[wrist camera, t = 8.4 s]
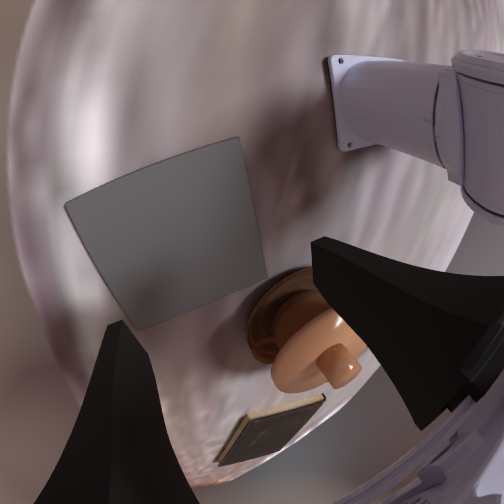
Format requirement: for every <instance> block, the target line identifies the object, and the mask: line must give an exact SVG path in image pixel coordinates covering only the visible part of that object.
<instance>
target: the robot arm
mask: <svg viewBox="0 0 504 504" xmlns="http://www.w3.org/2000/svg"><path fill="white" fill-rule="evenodd" d="M338 59H340V63H339V61H338ZM451 62H452V66H445V65H438V64H429V63H419V62H405V61H404V60H400V59H391V58H382V57H370V56H354V55H331V56H329V58H328V65H329V71H330V78H331V85H332V92H333V100H334V109H335V118H336V128H337V139H338V148H339V150H341V151H343V152H346V151H350V150H354V149H359V148H363V147H367V146H372V145H376V144H379V145H382V146H386V147H389V148H392V149H395V150H398V151H401V152H403V153H406V154H409V155H412V156H414V157H417V158H420V159H422V160H425V161H428V162H430V163H433V164H435V165H438V166H440V167H442V168H445V169H447V173H448V180H449V181H451V182H454V183H456V184H458V185H460V186H461V193H462V197H463V199H464V201H465V202H466V203H467V205H468V206H469V207H470V208H471V209H472V210H473V211H474V212H475V213H476V214H478V215H479V216H481V217H482V218H484V219H485V220H487V221H488V222H490V223H493V224H495V225H498V226H502V227H504V54H501V53H496V52H490V51H481V50H461V51H459V52H458V53H457V54H456V55H455V56H454V57H452V59H451ZM348 143H349V146H348ZM311 253H312V270H313V284H314V285H315V286H316V288H317V289H318V291H319V292H320V294H321V295H322V296H323V298H324V299H325V300H326V302H327V303H328V304H329V305H330V306H331V307H332V308H333V310H334V311H335V312H336V313H337V314H338V315H339V316H340V317H341V318H342V319H343V320H344V321H345V322H346V323H347V324H348V326H349V327H350V328H351V329H352V330H353V331H354V332H355V333H356V334H357V335H358V336H359V337H360V338H361V339H362V340H363V342H364V343H365V344H366V345H367V346H368V348H369V349H370V350H371V352H372V353H373V354H374V356H375V357H376V359H377V360H378V361H379V363H380V364H381V365H382V367H383V368H384V370H385V371H386V373H387V374H388V376H389V377H390V379H391V381H392V382H393V384H394V385H395V387H396V389H397V390H398V392H399V394H400V396H401V397H402V399H403V401H404V402H405V405H406V407H407V408H408V410H409V412H410V414H411V416H412V418H413V421H414V423H415V424H416V426H417V427H418V428H419V429H420V430H421V431H422V430H423V429H424V428H426V427H427V426H428V425H429V424H430V423H431V422H432V421H434V420H435V419H436V418H437V417H438V416H439V415H440V414H441V413H442V412H443V411H444V410H445V409H446V408H448V409H449V411H450V412H451V413H450V414H449V415H448V416H447V417H446V418H445V419H444V420H443V421H442V422H441V423H440V424H439V425H438V426H437V427H436V428H435V429H434V430H433V431H432V432H431V433H430V434H429V435H428V436H426V437H425V438H424V439H423V440H422V441H421V442H420V443H419V444H417V445H416V446H415V447H414V448H413V449H411V450H410V451H409V452H408V453H407V454H405V455H404V456H403V457H401V458H400V459H399V460H397V461H396V462H395V463H394V464H392V465H391V466H390V467H388V468H387V469H386V470H384V471H383V472H381V473H380V474H378V475H377V476H375V477H374V478H372V479H371V480H369V481H368V482H366V483H365V484H363V485H362V486H360V487H358V488H357V489H355V490H353V491H352V492H350V493H348V494H347V495H345V496H343V497H341V498H339V499H338V500H336V501H334V502H332V503H330V504H369V503H370V502H372V501H373V500H375V499H376V498H378V497H380V496H381V495H383V494H384V493H385V492H387V491H388V490H390V489H391V488H393V487H394V486H395V485H396V484H398V483H399V482H401V481H402V480H403V479H405V478H406V477H407V476H408V475H410V474H411V473H412V472H413V471H414V470H416V469H417V468H418V467H419V466H421V465H422V464H423V463H424V462H425V461H426V460H427V461H426V463H424V465H423V466H422V467H421V468H420V469H419V470H418V471H417V473H416V475H417V476H418V477H417V478H416V479H415V480H413V481H412V482H411V483H409V484H408V485H406V486H405V487H404V488H402V489H401V490H400V491H398V492H396V493H395V494H393V495H392V496H390V497H389V498H387V499H386V500H384V501H382V502H381V503H379V504H504V276H472V275H461V274H453V273H447V272H440V271H435V270H430V269H426V268H422V267H417V266H413V265H409V264H406V263H402V262H399V261H396V260H393V259H389V258H386V257H383V256H380V255H377V254H374V253H371V252H369V251H366V250H363V249H360V248H357V247H355V246H352V245H349V244H346V243H343V242H341V241H338V240H335V239H332V238H328V237H325V236H324V237H322V238H319V239H317V240H315V241H312V242H311ZM448 440H449V441H450V442H449V444H448V445H446V446H445V447H443V448H442V449H440V450H439V451H438V452H436V451H437V450H438V449H439V448H441V446H442V445H444V444H445V442H447V441H448ZM435 452H436V453H435ZM434 453H435V454H434ZM433 454H434V455H433ZM432 455H433V456H432ZM431 456H432V457H431ZM34 504H200V503H199V502H198V500H197V498H196V496H195V495H194V493H193V491H192V489H191V487H190V485H189V484H188V482H187V480H186V478H185V476H184V473H183V471H182V469H181V467H180V465H179V463H178V460H177V458H176V455H175V453H174V451H173V448H172V446H171V443H170V440H169V437H168V434H167V430H166V426H165V422H164V417H163V413H162V409H161V404H160V399H159V394H158V389H157V384H156V379H155V376H154V372H153V369H152V366H151V362H150V359H149V356H148V353H147V352H146V351H145V350H144V348H143V347H142V346H141V344H140V343H139V342H138V341H137V339H136V338H135V337H134V335H133V334H132V333H131V331H130V330H129V328H128V327H127V326H126V324H125V323H124V322H123V320H120V321H118V322H115V323H113V324H110V325H108V326H107V329H106V332H105V335H104V338H103V341H102V344H101V347H100V350H99V353H98V357H97V360H96V363H95V366H94V369H93V373H92V376H91V379H90V382H89V385H88V388H87V391H86V394H85V397H84V401H83V404H82V407H81V409H80V412H79V415H78V418H77V420H76V422H75V425H74V428H73V430H72V433H71V435H70V437H69V440H68V441H67V444H66V446H65V449H64V450H63V453H62V455H61V457H60V459H59V461H58V463H57V465H56V467H55V469H54V471H53V473H52V474H51V476H50V478H49V480H48V482H47V483H46V485H45V487H44V488H43V490H42V492H41V493H40V495H39V496H38V498H37V499H36V501H35V502H34Z"/></svg>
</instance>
